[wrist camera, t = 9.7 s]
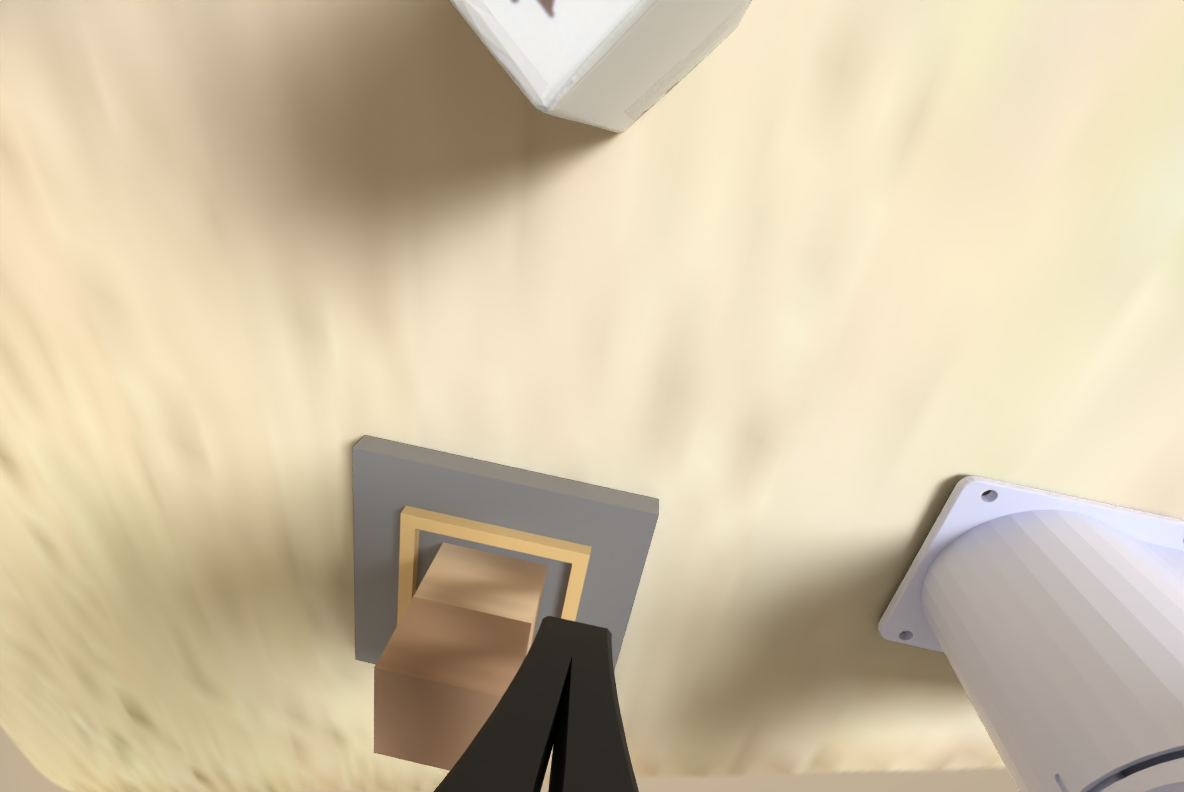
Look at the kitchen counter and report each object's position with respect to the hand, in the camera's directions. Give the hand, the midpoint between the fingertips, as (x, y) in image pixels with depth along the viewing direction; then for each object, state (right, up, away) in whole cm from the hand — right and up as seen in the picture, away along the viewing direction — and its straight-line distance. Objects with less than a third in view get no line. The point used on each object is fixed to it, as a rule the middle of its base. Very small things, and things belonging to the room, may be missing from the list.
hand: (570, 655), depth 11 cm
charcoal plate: (-4, -3, +13) cm, 14 cm away
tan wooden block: (-4, -3, +12) cm, 13 cm away
